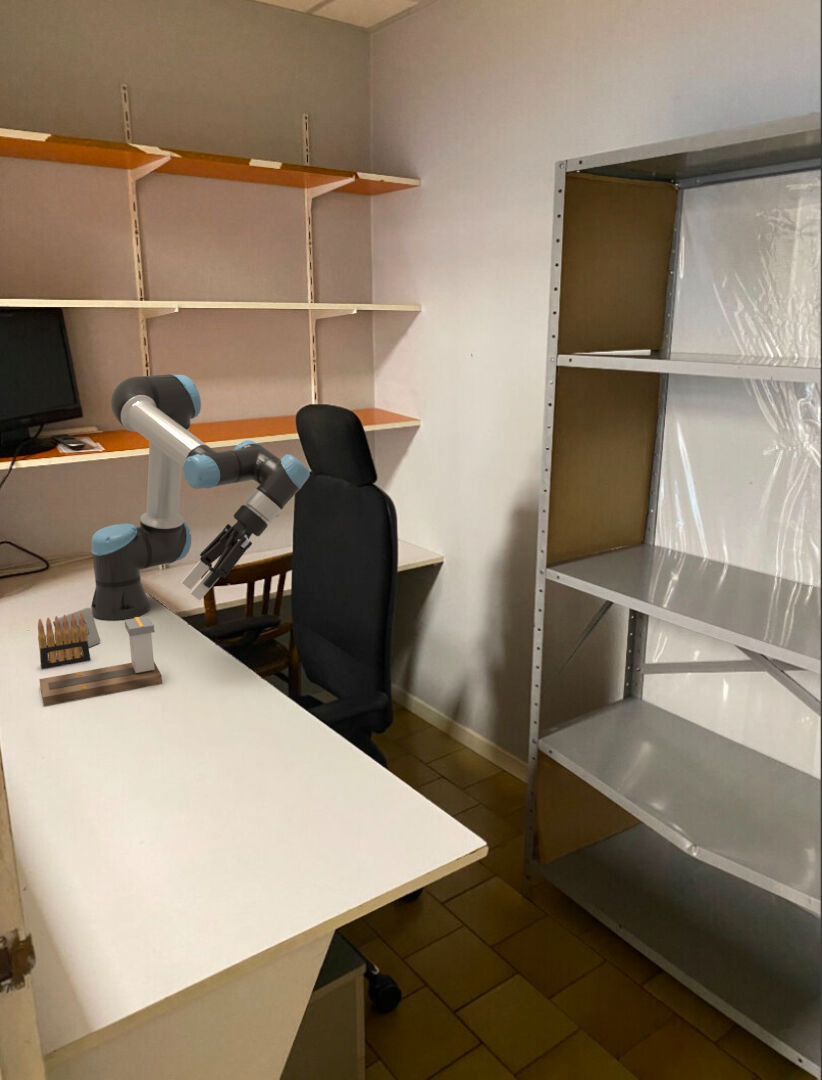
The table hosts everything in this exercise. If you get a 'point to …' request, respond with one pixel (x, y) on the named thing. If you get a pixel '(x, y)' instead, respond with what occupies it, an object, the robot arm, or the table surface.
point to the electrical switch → (89, 624)
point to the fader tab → (141, 643)
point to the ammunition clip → (63, 643)
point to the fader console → (96, 683)
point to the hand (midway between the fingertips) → (190, 591)
